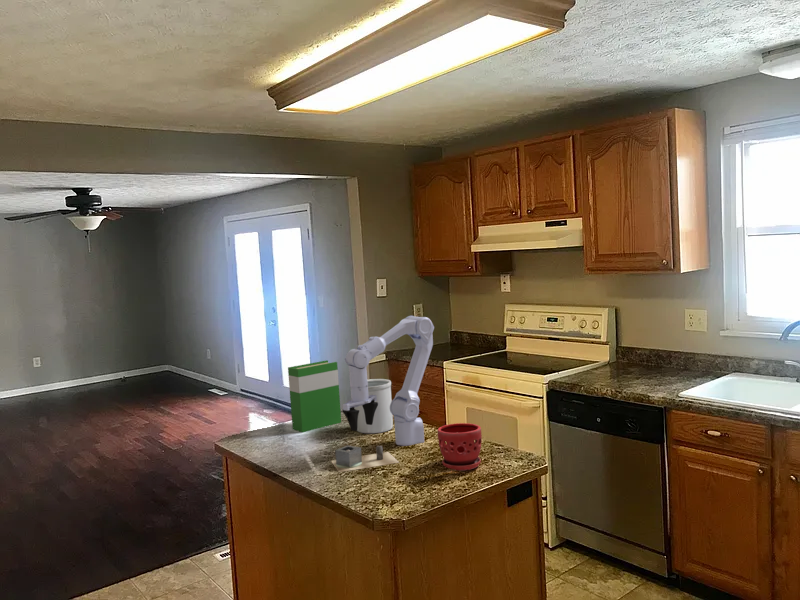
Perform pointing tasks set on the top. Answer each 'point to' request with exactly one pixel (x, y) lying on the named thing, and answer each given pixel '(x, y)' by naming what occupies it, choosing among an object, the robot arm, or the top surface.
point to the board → (369, 460)
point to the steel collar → (348, 456)
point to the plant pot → (460, 445)
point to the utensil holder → (382, 413)
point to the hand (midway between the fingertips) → (361, 427)
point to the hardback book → (314, 395)
